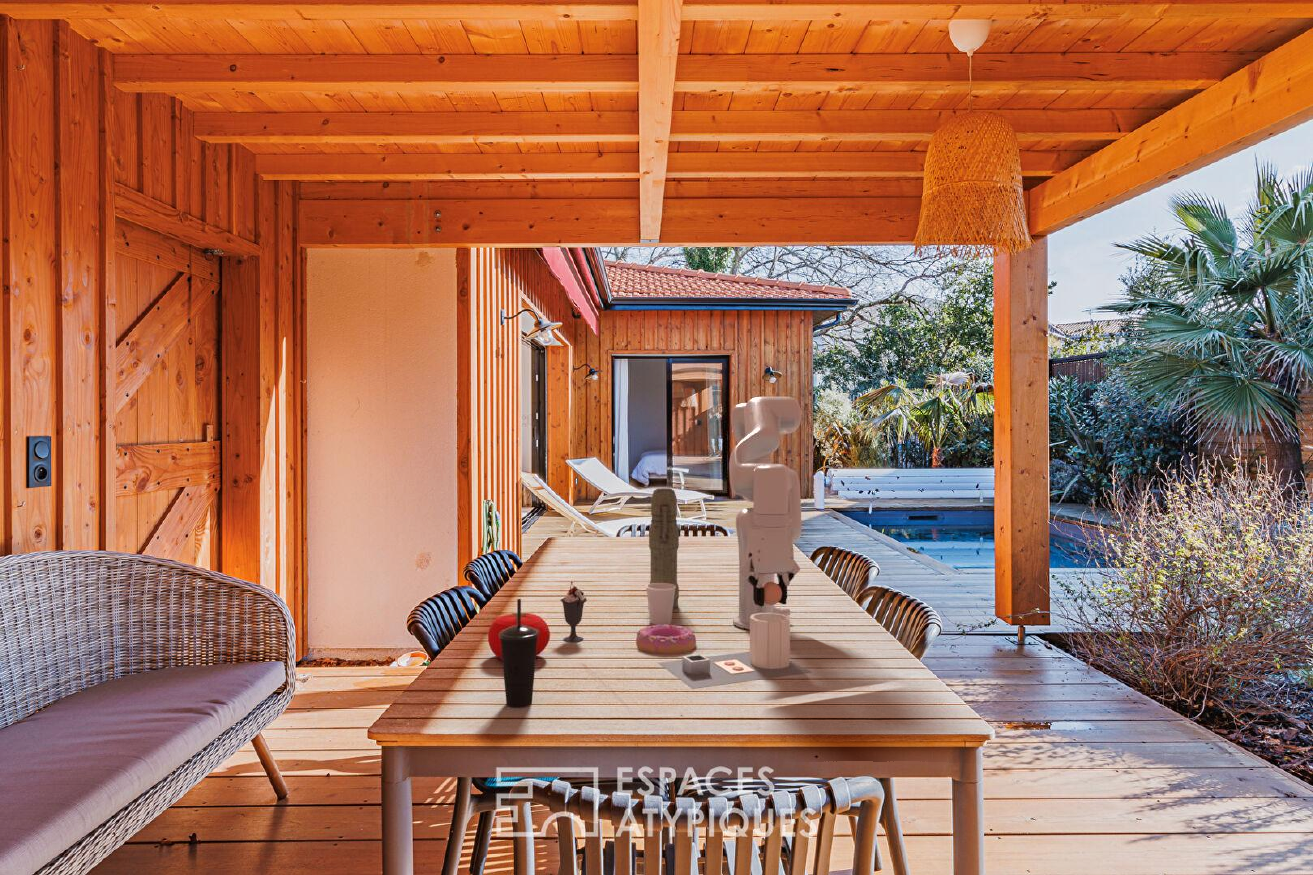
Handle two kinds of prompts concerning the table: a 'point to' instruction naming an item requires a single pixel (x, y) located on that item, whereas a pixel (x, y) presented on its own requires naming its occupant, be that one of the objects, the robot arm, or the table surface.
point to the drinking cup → (519, 661)
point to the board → (730, 671)
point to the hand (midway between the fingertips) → (770, 603)
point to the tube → (770, 640)
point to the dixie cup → (660, 602)
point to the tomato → (511, 620)
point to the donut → (665, 639)
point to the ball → (771, 593)
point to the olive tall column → (664, 539)
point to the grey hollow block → (696, 665)
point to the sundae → (573, 611)
